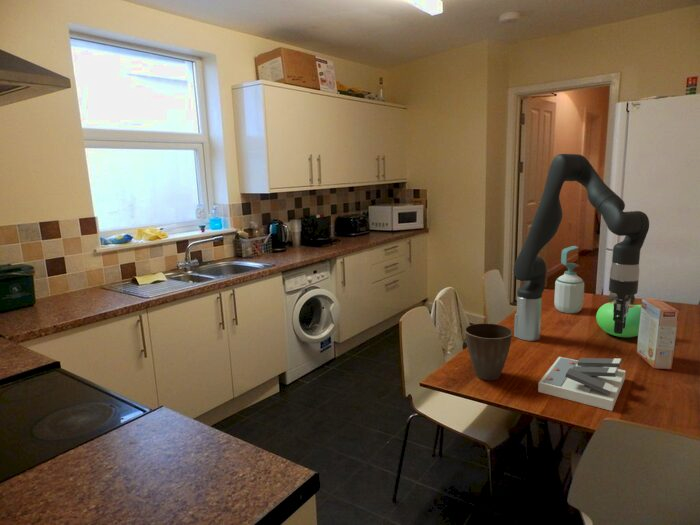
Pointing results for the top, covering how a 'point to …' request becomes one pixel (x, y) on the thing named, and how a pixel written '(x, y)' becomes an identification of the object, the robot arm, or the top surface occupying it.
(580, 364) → the block
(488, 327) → the plant pot
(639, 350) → the cracker box
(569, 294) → the soap bottle
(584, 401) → the switch unit
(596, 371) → the rocker
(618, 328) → the robot arm
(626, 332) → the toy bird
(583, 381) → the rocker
